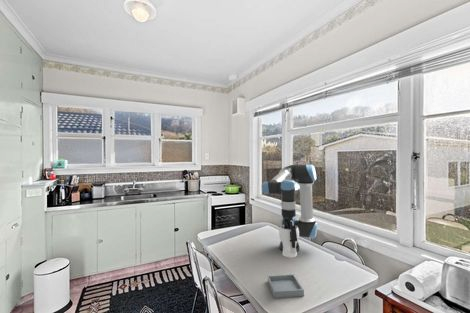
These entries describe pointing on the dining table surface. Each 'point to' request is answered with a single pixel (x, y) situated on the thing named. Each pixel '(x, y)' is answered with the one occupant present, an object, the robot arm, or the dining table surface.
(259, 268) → the dining table surface
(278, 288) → the tray
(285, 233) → the cup
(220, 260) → the dining table surface
